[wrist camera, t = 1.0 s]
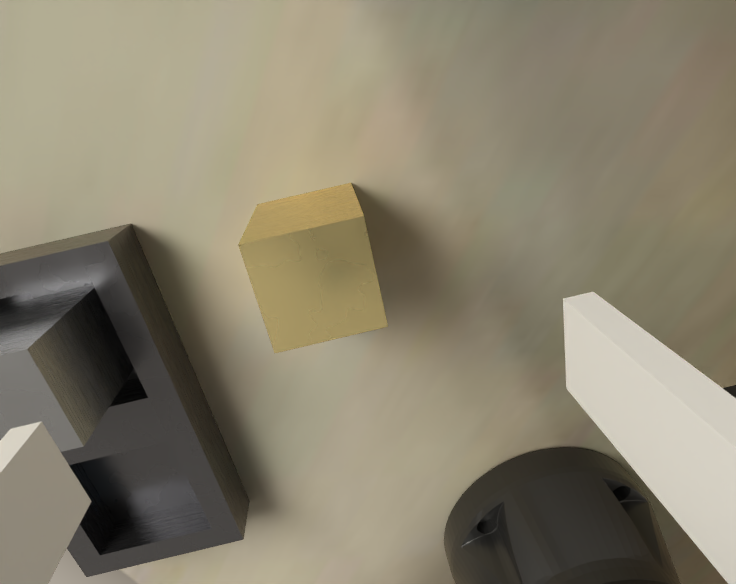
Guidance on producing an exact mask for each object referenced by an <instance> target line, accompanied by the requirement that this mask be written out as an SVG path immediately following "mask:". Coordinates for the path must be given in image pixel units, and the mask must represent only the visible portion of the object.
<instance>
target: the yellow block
mask: <svg viewBox="0 0 736 584" xmlns="http://www.w3.org/2000/svg"><path fill="white" fill-rule="evenodd" d="M238 246H239V249H240V252H241V254H242V257H243V260H244V263H245V266H246V269H247V272H248V275H249V278H250V281H251V284H252V287H253V290H254V293H255V296H256V299H257V302H258V305H259V308H260V311H261V314H262V317H263V320H264V323H265V326H266V329H267V332H268V335H269V338H270V341H271V344H272V347H273V350H274V353H278V352H282V351H287V350H291V349H295V348H299V347H304V346H308V345H312V344H316V343H321V342H325V341H329V340H333V339H338V338H342V337H346V336H350V335H355V334H359V333H363V332H367V331H372V330H376V329H380V328H384V327H388V324H387V320H386V315H385V310H384V306H383V301H382V296H381V292H380V287H379V283H378V278H377V273H376V269H375V264H374V259H373V255H372V250H371V246H370V241H369V236H368V232H367V227H366V222H365V218H364V214H363V212H362V209H361V207H360V204H359V202H358V199H357V196H356V194H355V191H354V189H353V186H352V184H351V183H348V184H343V185H339V186H335V187H330V188H326V189H322V190H317V191H313V192H309V193H304V194H300V195H296V196H291V197H287V198H283V199H278V200H274V201H270V202H266V203H261V204H257V207H256V209H255V211H254V213H253V215H252V217H251V219H250V221H249V223H248V225H247V228H246V230H245V232H244V234H243V236H242V238H241V240H240V242H239V244H238Z"/></svg>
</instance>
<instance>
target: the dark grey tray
mask: <svg viewBox="0 0 736 584" xmlns="http://www.w3.org/2000/svg"><path fill="white" fill-rule="evenodd" d="M90 284H93V285H94V287H95V289H96V291H97V293H98V295H99V297H100V299H101V302H102V304H103V306H104V308H105V310H106V312H107V314H108V316H109V318H110V320H111V322H112V324H113V326H114V328H115V330H116V332H117V334H118V336H119V339H120V341H121V343H122V345H123V347H124V349H125V351H126V353H127V355H128V357H129V359H130V361H131V363H132V365H133V367H134V369H133V370H132V372H131V373H130V375H129V377H128V378H127V380H126V381H125V383H124V384H123V386H122V388H121V389H120V391H119V392H118V394H117V395H116V397H115V399H114V400H113V402H112V403H111V405H110V406H109V408H108V409H107V411H106V413H105V414H104V416H103V417H102V419H101V420H100V422H99V424H98V425H97V427H96V428H95V430H94V431H93V433H92V435H91V436H90V438H89V439H88V441H87V442H86V444H85V445H84V447H79V448H75V449H71V450H67V451H63V452H61V453H62V455H63V457H64V458H65V460H66V461H67V463H68V465H69V466H70V468H71V469H72V471H73V473H74V474H75V476H76V477H77V479H78V481H79V482H80V484H81V485H82V487H83V489H84V490H85V492H86V493H87V495H88V496H89V498H90V500H91V503H90V505H89V507H88V509H87V511H86V513H85V515H84V517H83V519H82V520H81V522H80V524H79V526H78V528H77V530H76V532H75V534H74V536H73V537H72V539H71V541H70V543H69V545H68V547H67V549H68V551H69V552H70V553H71V555H72V556H73V558H74V559H75V561H76V562H77V564H78V565H79V567H80V568H81V570H82V571H83V572H84V574H85V575H86V577H89V576H93V575H97V574H102V573H106V572H110V571H114V570H118V569H123V568H127V567H131V566H135V565H139V564H143V563H147V562H152V561H156V560H160V559H164V558H168V557H172V556H177V555H181V554H185V553H189V552H193V551H197V550H202V549H206V548H210V547H214V546H218V545H222V544H227V543H231V542H235V541H239V540H243V539H244V532H245V526H246V519H247V513H248V507H249V500H248V497H247V495H246V493H245V490H244V488H243V485H242V483H241V481H240V478H239V476H238V474H237V471H236V469H235V467H234V464H233V462H232V460H231V457H230V455H229V453H228V450H227V448H226V446H225V443H224V441H223V439H222V436H221V434H220V432H219V429H218V427H217V424H216V422H215V420H214V417H213V415H212V413H211V410H210V408H209V406H208V403H207V401H206V399H205V396H204V394H203V392H202V389H201V387H200V385H199V382H198V380H197V378H196V375H195V373H194V371H193V368H192V366H191V363H190V361H189V359H188V356H187V354H186V352H185V349H184V347H183V345H182V342H181V340H180V338H179V335H178V333H177V331H176V328H175V326H174V324H173V321H172V319H171V317H170V314H169V312H168V310H167V307H166V305H165V302H164V300H163V298H162V295H161V293H160V291H159V288H158V286H157V284H156V281H155V279H154V277H153V274H152V272H151V270H150V267H149V265H148V263H147V260H146V258H145V256H144V253H143V251H142V249H141V246H140V244H139V241H138V239H137V237H136V234H135V232H134V230H133V227H132V225H131V224H127V225H123V226H119V227H114V228H110V229H106V230H101V231H97V232H93V233H88V234H84V235H80V236H75V237H71V238H67V239H62V240H58V241H54V242H49V243H45V244H41V245H36V246H32V247H28V248H23V249H19V250H15V251H10V252H6V253H2V254H0V308H1V307H3V306H4V305H6V304H8V303H13V302H17V301H21V300H26V299H30V298H34V297H39V296H43V295H47V294H51V293H56V292H60V291H64V290H69V289H73V288H77V287H82V286H86V285H90Z"/></svg>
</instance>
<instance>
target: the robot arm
mask: <svg viewBox="0 0 736 584" xmlns="http://www.w3.org/2000/svg"><path fill="white" fill-rule="evenodd" d="M563 309H564V336H565V362H566V388H567V390H568V391H569V392H570V393H571V394H572V396H573V397H574V398H575V399H576V400H577V402H578V403H579V404H580V405H581V407H582V408H583V409H584V410H585V411H586V413H587V414H588V415H589V416H590V417H591V419H592V420H593V421H594V422H595V423H596V425H597V426H598V427H599V428H600V429H601V431H602V432H603V433H604V434H605V435H606V437H607V438H608V439H609V440H610V442H611V443H612V444H613V445H614V446H615V448H616V449H617V450H618V451H619V452H620V454H621V455H622V456H623V457H624V458H625V460H626V461H627V462H628V463H629V464H630V466H631V467H632V468H633V469H634V470H635V472H636V473H637V474H638V475H639V477H640V478H641V479H642V480H643V481H644V483H645V484H646V485H647V486H648V487H649V489H650V490H651V491H652V492H653V493H654V495H655V496H656V497H657V498H658V499H659V501H660V502H661V503H662V504H663V505H664V507H665V508H666V509H667V510H668V512H669V513H670V514H671V515H672V516H673V518H674V519H675V520H676V521H677V522H678V524H679V525H680V526H681V527H682V528H683V530H684V531H685V532H686V533H687V534H688V536H689V537H690V538H691V539H692V541H693V542H694V543H695V544H696V545H697V547H698V548H699V549H700V550H701V551H702V553H703V554H704V555H705V556H706V557H707V559H708V560H709V561H710V562H711V563H712V565H713V566H714V567H715V568H716V569H717V571H718V572H719V573H720V574H721V576H722V577H723V578H724V579H725V580H726V582H727V583H728V584H736V385H734V386H730V387H726V388H721V387H720V386H719V385H717V384H716V383H715V382H713V381H712V380H711V379H709V378H708V377H707V376H705V375H704V374H703V373H701V372H700V371H699V370H697V369H696V368H695V367H693V366H692V365H691V364H689V363H688V362H687V361H685V360H684V359H683V358H681V357H680V356H679V355H677V354H676V353H674V352H673V351H672V350H670V349H669V348H668V347H666V346H665V345H664V344H662V343H661V342H660V341H658V340H657V339H656V338H654V337H653V336H652V335H650V334H649V333H648V332H646V331H645V330H644V329H642V328H641V327H640V326H638V325H637V324H636V323H634V322H633V321H632V320H630V319H629V318H628V317H626V316H625V315H624V314H622V313H621V312H620V311H618V310H617V309H616V308H614V307H613V306H612V305H610V304H609V303H608V302H606V301H605V300H604V299H602V298H601V297H600V296H598V295H597V294H596V293H594V292H589V293H585V294H581V295H577V296H573V297H568V298H564V299H563ZM90 503H91V500H90V498H89V496H88V495H87V493H86V492H85V490H84V489H83V487H82V485H81V484H80V482H79V481H78V479H77V477H76V476H75V474H74V473H73V471H72V469H71V468H70V466H69V465H68V463H67V461H66V460H65V458H64V457H63V455H62V453H61V452H60V450H59V449H58V447H57V445H56V444H55V442H54V441H53V439H52V437H51V436H50V434H49V433H48V431H47V429H46V428H45V426H44V425H43V423H42V421H41V422H37V423H33V424H29V425H24V426H20V427H16V428H12V429H10V430H9V431H8V432H7V434H6V435H5V436H4V437H3V438H2V439H1V440H0V584H48V583H49V581H50V579H51V577H52V575H53V573H54V571H55V570H56V568H57V566H58V564H59V562H60V560H61V558H62V556H63V555H64V553H65V551H66V549H67V547H68V545H69V543H70V541H71V539H72V537H73V536H74V534H75V532H76V530H77V528H78V526H79V524H80V522H81V520H82V519H83V517H84V515H85V513H86V511H87V509H88V507H89V505H90ZM444 546H445V551H446V555H447V559H448V562H449V565H450V569H451V572H452V576H453V579H454V581H455V583H456V584H680V581H679V579H678V576H677V573H676V571H675V568H674V565H673V563H672V560H671V557H670V555H669V552H668V549H667V547H666V544H665V541H664V538H663V536H662V533H661V530H660V528H659V525H658V522H657V520H656V517H655V514H654V512H653V509H652V507H651V504H650V502H649V501H648V499H647V497H646V496H645V494H644V493H643V491H642V490H641V489H640V488H639V486H638V485H637V484H636V483H635V481H634V480H633V479H632V478H631V476H630V475H629V474H628V473H627V472H626V470H625V469H624V468H623V467H622V466H621V465H620V464H618V463H617V462H616V461H614V460H613V459H611V458H609V457H607V456H605V455H603V454H600V453H597V452H594V451H590V450H586V449H579V448H553V449H546V450H540V451H535V452H532V453H528V454H525V455H522V456H519V457H516V458H514V459H511V460H509V461H507V462H505V463H503V464H501V465H499V466H497V467H496V468H494V469H492V470H491V471H489V472H488V473H486V474H485V475H483V476H482V477H481V478H479V479H478V480H477V481H476V482H475V483H474V484H472V485H471V486H470V487H469V488H468V489H467V490H466V492H465V493H464V494H463V495H462V496H461V498H460V499H459V500H458V502H457V503H456V505H455V506H454V508H453V510H452V511H451V514H450V516H449V518H448V521H447V524H446V528H445V534H444Z"/></svg>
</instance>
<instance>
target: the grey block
mask: <svg viewBox="0 0 736 584" xmlns="http://www.w3.org/2000/svg"><path fill="white" fill-rule="evenodd" d="M133 369H134V367H133V365H132V363H131V361H130V359H129V357H128V355H127V353H126V351H125V349H124V347H123V345H122V343H121V341H120V339H119V336H118V334H117V332H116V330H115V328H114V326H113V324H112V322H111V320H110V318H109V316H108V314H107V312H106V310H105V308H104V306H103V304H102V302H101V299H100V297H99V295H98V293H97V291H96V289H95V287H94V285H93V284H90V285H86V286H82V287H77V288H73V289H69V290H64V291H60V292H56V293H51V294H47V295H43V296H39V297H34V298H30V299H26V300H21V301H17V302H13V303H8V304H6V305H4V306H3V307H1V308H0V440H1V439H2V438H3V437H4V436H5V435H6V434H7V432H8V431H9V430H10V429H12V428H16V427H20V426H24V425H29V424H33V423H37V422H41V421H42V423H43V425H44V426H45V428H46V429H47V431H48V433H49V434H50V436H51V437H52V439H53V441H54V442H55V444H56V445H57V447H58V449H59V450H60V452H63V451H67V450H71V449H75V448H79V447H84V445H85V444H86V442H87V441H88V439H89V438H90V436H91V435H92V433H93V431H94V430H95V428H96V427H97V425H98V424H99V422H100V420H101V419H102V417H103V416H104V414H105V413H106V411H107V409H108V408H109V406H110V405H111V403H112V402H113V400H114V399H115V397H116V395H117V394H118V392H119V391H120V389H121V388H122V386H123V384H124V383H125V381H126V380H127V378H128V377H129V375H130V373H131V372H132V370H133Z"/></svg>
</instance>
